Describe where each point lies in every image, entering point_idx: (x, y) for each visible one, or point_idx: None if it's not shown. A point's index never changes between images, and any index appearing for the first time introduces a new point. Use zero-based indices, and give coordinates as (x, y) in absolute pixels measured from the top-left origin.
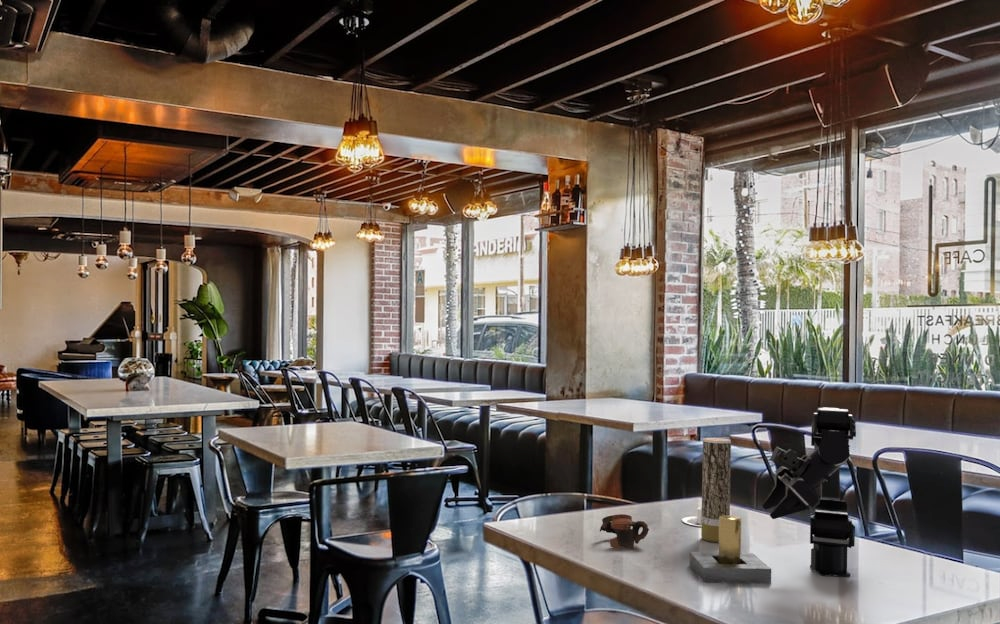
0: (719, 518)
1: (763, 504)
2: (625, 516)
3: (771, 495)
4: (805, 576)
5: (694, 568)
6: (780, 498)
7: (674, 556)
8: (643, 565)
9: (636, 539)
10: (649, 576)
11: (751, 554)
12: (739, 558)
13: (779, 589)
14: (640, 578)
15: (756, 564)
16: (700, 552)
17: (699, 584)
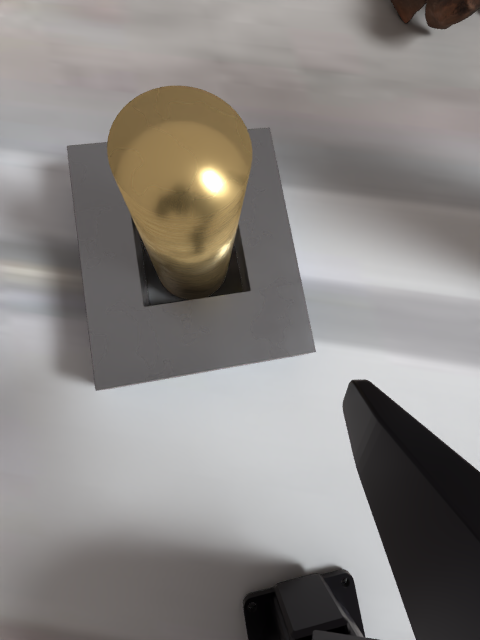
0: (173, 89)
1: (361, 389)
2: None
3: (431, 493)
4: (227, 530)
5: None
6: (426, 597)
7: (351, 125)
8: (227, 30)
9: (428, 6)
10: (115, 33)
11: (292, 343)
12: (164, 276)
13: (46, 407)
14: (90, 8)
15: (150, 341)
16: (269, 161)
17: (58, 160)
